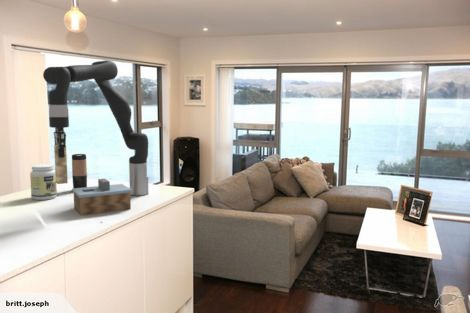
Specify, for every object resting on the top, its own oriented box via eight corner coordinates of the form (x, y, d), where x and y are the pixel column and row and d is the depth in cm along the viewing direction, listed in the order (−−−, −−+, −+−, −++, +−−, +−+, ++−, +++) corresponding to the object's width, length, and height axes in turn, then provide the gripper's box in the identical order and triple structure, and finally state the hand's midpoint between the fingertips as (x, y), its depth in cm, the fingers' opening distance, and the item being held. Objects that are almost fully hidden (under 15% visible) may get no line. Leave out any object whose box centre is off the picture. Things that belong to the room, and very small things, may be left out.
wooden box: (121, 204, 207) (120, 186, 206) (130, 211, 195) (130, 192, 194) (74, 210, 195) (73, 191, 194) (81, 217, 184) (80, 197, 182)
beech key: (65, 181, 182) (64, 144, 180) (67, 183, 179) (66, 145, 177) (55, 182, 180) (54, 145, 178) (57, 184, 177) (55, 146, 175)
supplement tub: (47, 201, 212) (45, 167, 209) (25, 199, 214) (24, 166, 212) (62, 195, 224) (60, 164, 221) (41, 194, 226) (39, 163, 224)
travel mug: (90, 189, 240) (89, 154, 237) (81, 192, 233) (80, 156, 230) (79, 188, 243) (77, 153, 240) (69, 190, 235) (68, 155, 233)
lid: (121, 186, 207) (121, 175, 206) (131, 192, 194) (131, 181, 193) (72, 191, 194) (71, 180, 194) (79, 197, 182) (79, 186, 181)
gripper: (71, 116, 172) (73, 158, 174) (65, 115, 184) (66, 154, 186) (52, 116, 168) (54, 159, 170) (46, 115, 180) (48, 155, 182)
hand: (60, 156), depth 178 cm, fingers closed on beech key, 4 cm apart
